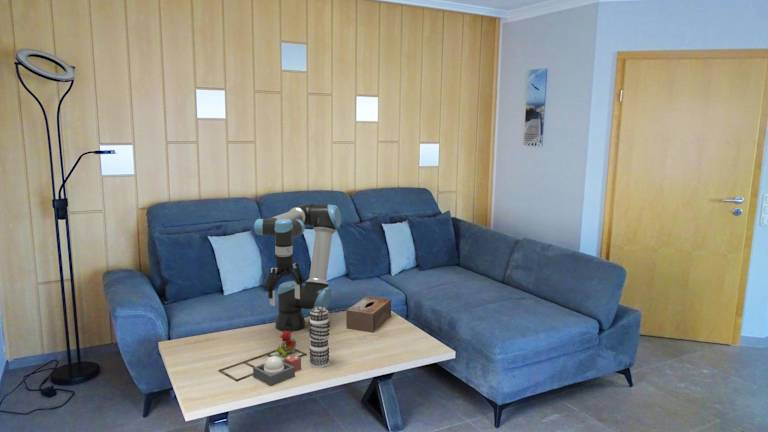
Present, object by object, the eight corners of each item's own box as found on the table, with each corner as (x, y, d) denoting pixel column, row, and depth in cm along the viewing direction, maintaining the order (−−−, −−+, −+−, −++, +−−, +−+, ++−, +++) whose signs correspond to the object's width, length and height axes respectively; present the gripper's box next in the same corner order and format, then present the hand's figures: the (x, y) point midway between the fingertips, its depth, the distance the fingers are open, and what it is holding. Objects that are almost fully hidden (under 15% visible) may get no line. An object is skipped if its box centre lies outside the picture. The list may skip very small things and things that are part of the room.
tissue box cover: (366, 313, 304) (366, 296, 302) (391, 317, 299) (391, 299, 297) (346, 329, 280) (346, 310, 279) (372, 333, 275) (372, 314, 274)
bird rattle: (287, 354, 252) (271, 352, 246) (294, 331, 253) (279, 328, 247) (294, 359, 248) (279, 356, 241) (302, 335, 249) (287, 331, 243)
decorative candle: (321, 370, 233) (320, 313, 229) (304, 364, 237) (303, 309, 233) (334, 362, 240) (334, 307, 236) (317, 357, 245) (317, 303, 241)
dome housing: (253, 376, 226) (252, 363, 225) (288, 363, 239) (288, 351, 238) (270, 386, 218) (270, 372, 217) (306, 371, 231) (306, 359, 230)
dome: (260, 374, 226) (259, 357, 225) (276, 368, 232) (275, 351, 230) (271, 380, 221) (271, 362, 219) (287, 374, 226) (287, 356, 225)
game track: (218, 371, 231) (218, 369, 231) (288, 346, 257) (288, 345, 257) (236, 381, 222) (236, 380, 222) (306, 354, 248) (306, 353, 248)
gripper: (265, 261, 229) (266, 310, 232) (311, 251, 247) (312, 297, 250) (254, 258, 234) (256, 306, 237) (301, 249, 252) (302, 293, 255)
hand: (285, 301), depth 244 cm, fingers open, 13 cm apart
